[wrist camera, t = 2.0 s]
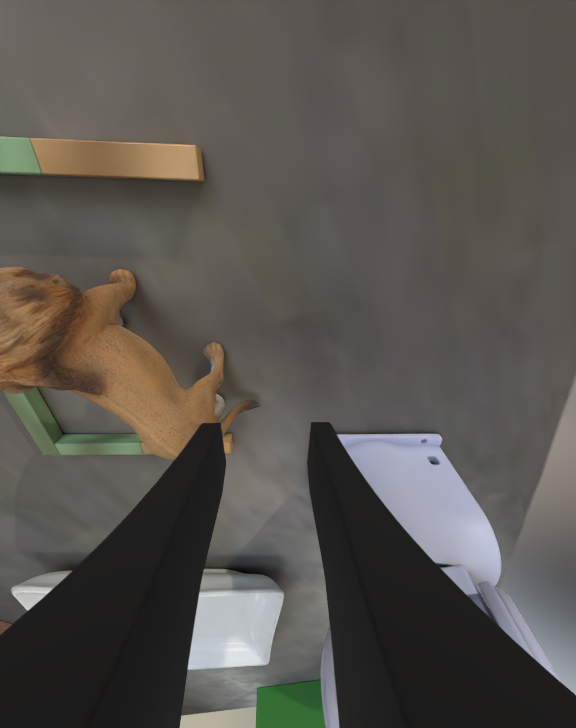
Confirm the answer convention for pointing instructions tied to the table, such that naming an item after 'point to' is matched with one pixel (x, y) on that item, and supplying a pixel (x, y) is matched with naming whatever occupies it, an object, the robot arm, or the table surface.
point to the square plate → (210, 616)
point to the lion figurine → (102, 358)
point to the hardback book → (290, 706)
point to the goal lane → (92, 163)
